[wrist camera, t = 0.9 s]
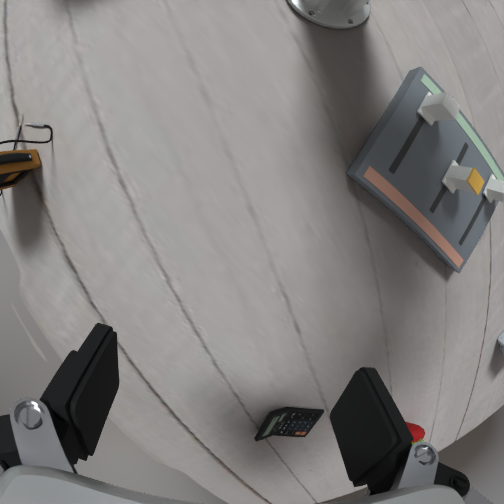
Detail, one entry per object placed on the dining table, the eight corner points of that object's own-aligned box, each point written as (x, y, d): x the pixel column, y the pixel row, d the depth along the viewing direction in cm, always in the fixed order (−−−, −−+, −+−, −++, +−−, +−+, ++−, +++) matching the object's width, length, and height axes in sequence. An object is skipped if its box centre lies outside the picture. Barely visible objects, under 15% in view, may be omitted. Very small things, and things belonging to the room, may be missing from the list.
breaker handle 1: (427, 92, 28) (449, 87, 24) (440, 105, 29) (462, 103, 24) (417, 111, 29) (439, 108, 25) (430, 125, 30) (452, 124, 25)
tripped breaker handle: (452, 159, 32) (477, 162, 27) (462, 172, 32) (486, 177, 27) (441, 180, 32) (465, 186, 27) (451, 193, 33) (475, 200, 28)
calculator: (304, 434, 52) (306, 444, 50) (253, 430, 51) (254, 441, 48) (323, 408, 50) (326, 419, 47) (268, 403, 48) (270, 415, 45)
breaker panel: (409, 70, 30) (421, 66, 27) (496, 178, 36) (507, 180, 33) (345, 173, 35) (354, 175, 32) (448, 267, 41) (459, 273, 38)
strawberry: (414, 423, 56) (428, 449, 46) (389, 434, 56) (402, 461, 47) (417, 411, 54) (434, 438, 44) (392, 422, 54) (406, 451, 45)
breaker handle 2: (491, 173, 32) (512, 178, 28) (498, 184, 33) (518, 189, 28) (482, 192, 33) (503, 198, 29) (489, 202, 34) (509, 209, 29)
